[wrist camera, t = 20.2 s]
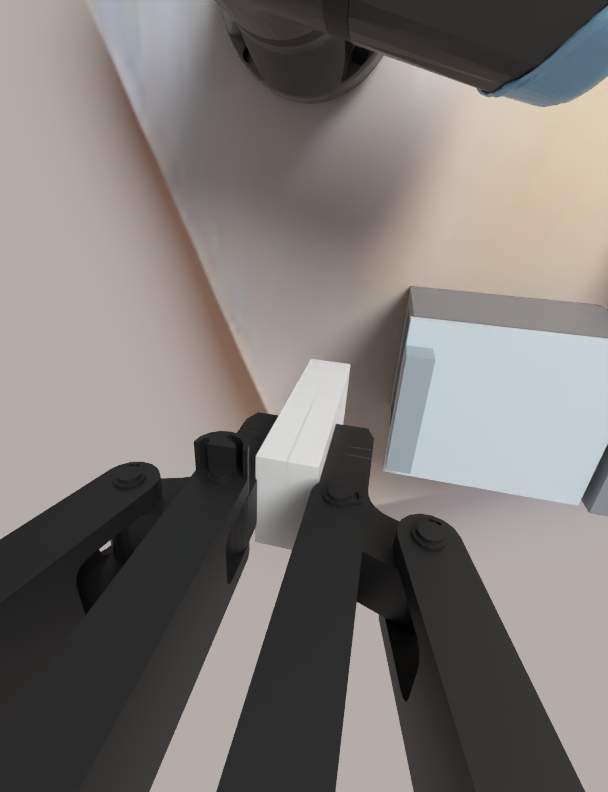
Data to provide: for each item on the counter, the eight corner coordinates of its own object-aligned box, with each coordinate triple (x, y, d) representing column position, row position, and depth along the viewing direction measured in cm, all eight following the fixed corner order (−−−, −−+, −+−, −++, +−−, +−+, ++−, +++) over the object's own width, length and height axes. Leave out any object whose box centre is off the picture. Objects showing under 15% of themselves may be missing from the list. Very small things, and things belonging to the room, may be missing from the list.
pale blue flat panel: (410, 316, 31) (411, 329, 28) (645, 342, 28) (675, 360, 25) (383, 464, 37) (381, 488, 34) (573, 498, 34) (590, 527, 31)
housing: (410, 286, 42) (414, 322, 29) (598, 304, 39) (695, 354, 26) (389, 404, 48) (385, 476, 35) (550, 427, 45) (609, 516, 32)
